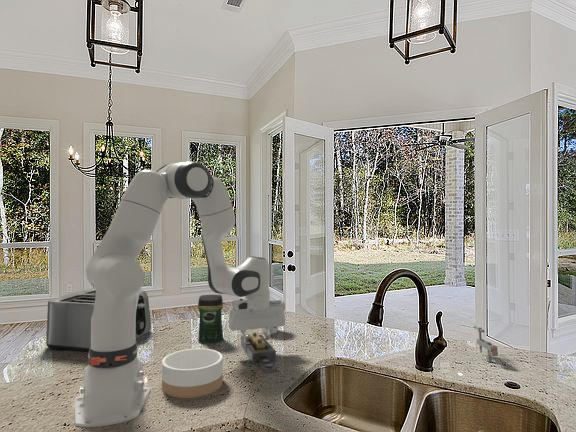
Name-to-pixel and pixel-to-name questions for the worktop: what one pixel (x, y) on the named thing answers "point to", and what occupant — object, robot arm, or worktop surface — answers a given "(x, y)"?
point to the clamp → (486, 345)
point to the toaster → (84, 320)
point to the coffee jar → (210, 319)
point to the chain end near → (263, 357)
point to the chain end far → (244, 344)
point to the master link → (257, 342)
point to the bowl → (192, 373)
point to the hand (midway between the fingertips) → (257, 340)
